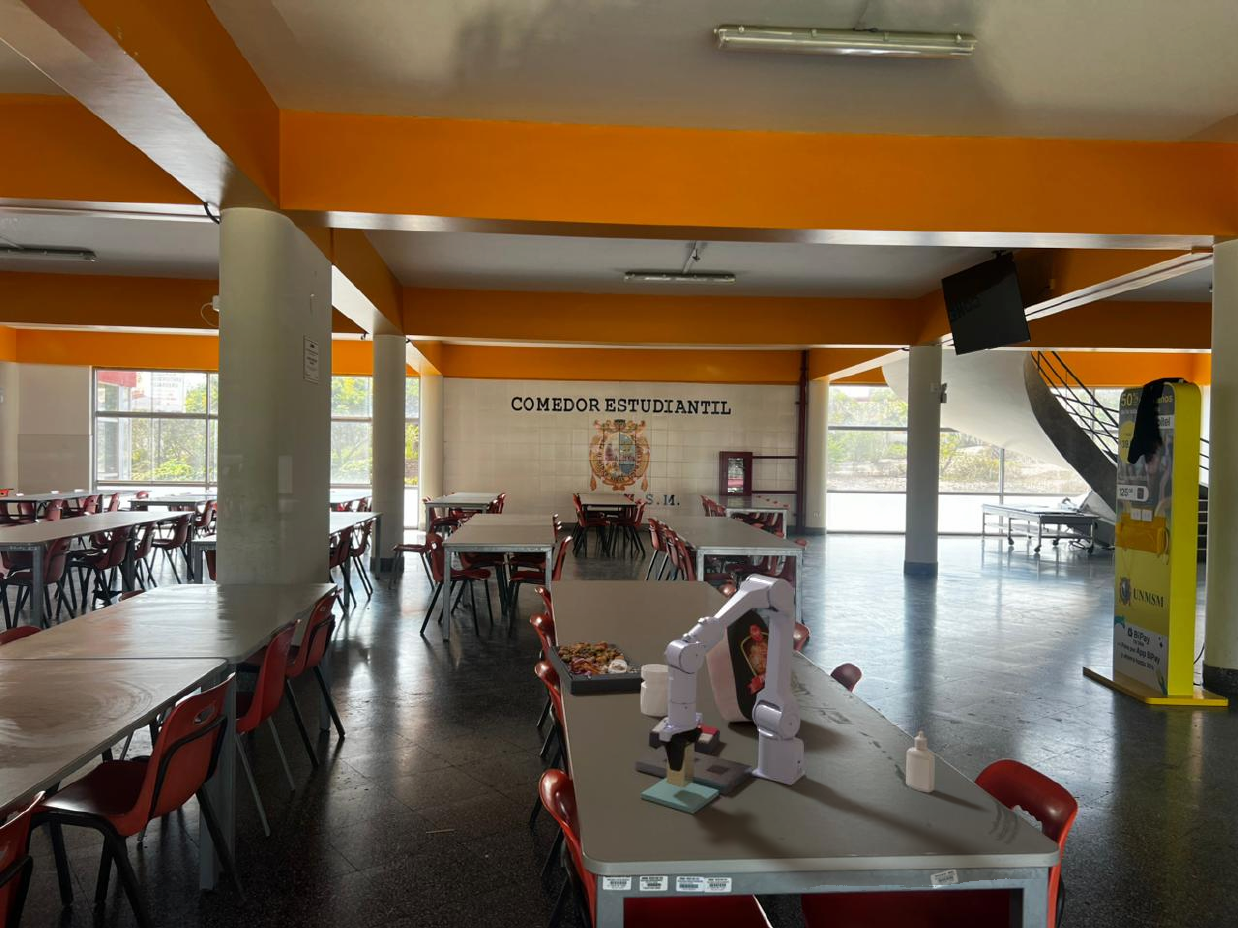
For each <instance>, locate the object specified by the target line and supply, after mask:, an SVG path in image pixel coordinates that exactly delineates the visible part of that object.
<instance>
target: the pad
mask: <svg viewBox="0 0 1238 928" xmlns="http://www.w3.org/2000/svg"><path fill="white" fill-rule="evenodd" d="M719 794H720V793H719V790H716V789H713V788H709V787H706V786H702V785H698V784H695V783H691V784H689V785H688V786H686V787H685V788H682V787H679V786H675V785H672V784H668V783H667V777H666V778H663V779H662V780H660V781H658V782H656V783H655V784H654V785H652V786H650V787H649V788H647V789H646V790H644V791H643V792H641V793H640V799H642V800H646V801H650V802H651V803H656V804H659V805H662V806H666V807H668V808H672V809H675V810H679V811H683V812H684V813H689V814H692V815H693V814H695V813H696V812H698V811H699V810H701V809H702V808H703V807H704V806H706V805H707V804H708V803H710V802H711V801H713V800H714V799H716V798H717V797H718V796H719Z"/></svg>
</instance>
